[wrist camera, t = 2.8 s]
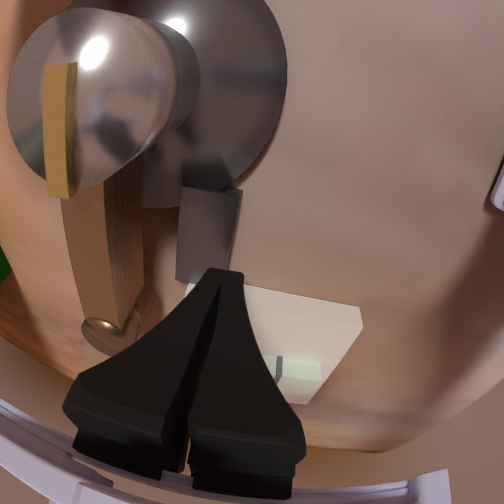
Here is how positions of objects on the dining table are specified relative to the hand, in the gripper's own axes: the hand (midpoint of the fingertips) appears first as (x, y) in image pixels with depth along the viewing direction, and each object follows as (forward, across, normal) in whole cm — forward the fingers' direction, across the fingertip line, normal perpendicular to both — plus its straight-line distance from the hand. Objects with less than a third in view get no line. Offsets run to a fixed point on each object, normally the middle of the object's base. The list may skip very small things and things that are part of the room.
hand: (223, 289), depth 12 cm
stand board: (+3, -2, +7) cm, 8 cm away
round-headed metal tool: (+2, +5, -3) cm, 6 cm away
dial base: (+3, +5, -6) cm, 8 cm away
